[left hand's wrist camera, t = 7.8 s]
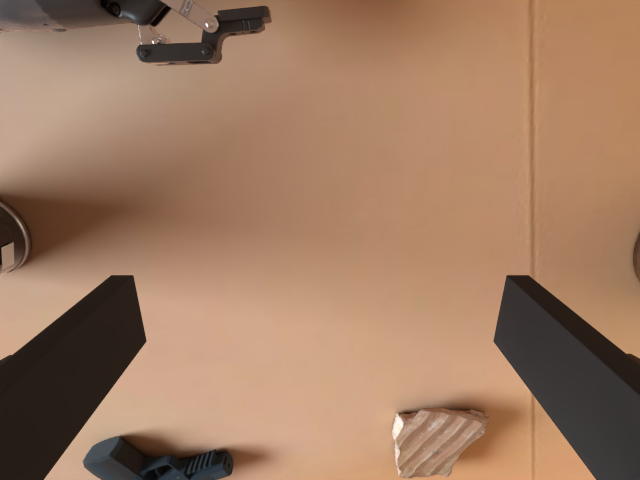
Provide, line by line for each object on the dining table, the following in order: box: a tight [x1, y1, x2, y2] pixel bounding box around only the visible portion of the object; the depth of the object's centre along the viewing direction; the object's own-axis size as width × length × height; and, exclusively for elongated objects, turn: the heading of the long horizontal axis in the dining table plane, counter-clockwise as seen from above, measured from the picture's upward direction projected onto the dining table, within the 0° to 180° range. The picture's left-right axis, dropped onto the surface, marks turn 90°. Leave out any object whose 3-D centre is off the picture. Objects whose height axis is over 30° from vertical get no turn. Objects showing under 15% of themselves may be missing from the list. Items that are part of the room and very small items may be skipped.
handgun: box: [83, 437, 233, 480], centre depth 51 cm, size 3×18×12 cm
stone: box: [392, 408, 489, 478], centre depth 50 cm, size 13×12×2 cm
